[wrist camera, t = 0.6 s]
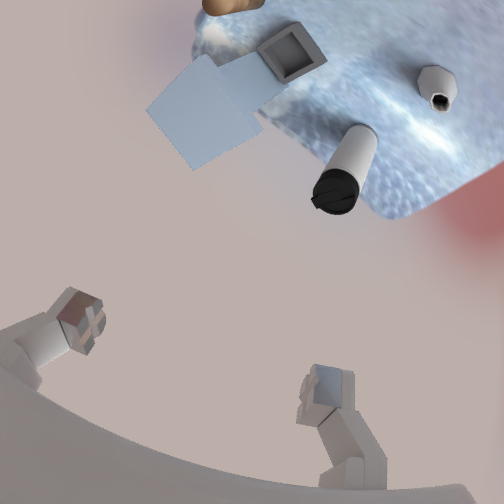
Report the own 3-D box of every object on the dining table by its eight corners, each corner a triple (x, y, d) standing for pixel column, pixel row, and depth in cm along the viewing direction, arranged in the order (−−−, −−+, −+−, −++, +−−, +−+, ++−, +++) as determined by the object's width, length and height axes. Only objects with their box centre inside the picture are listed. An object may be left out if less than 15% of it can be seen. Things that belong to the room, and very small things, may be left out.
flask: (455, 110, 38) (460, 132, 32) (415, 100, 41) (413, 120, 36) (460, 70, 33) (467, 85, 27) (417, 60, 36) (416, 72, 30)
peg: (254, -17, 37) (215, -15, 31) (269, 0, 39) (233, 4, 32) (237, -4, 40) (197, 2, 34) (252, 13, 42) (213, 21, 36)
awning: (301, 23, 40) (197, 57, 25) (333, 69, 45) (256, 135, 29) (254, 53, 49) (145, 110, 33) (284, 94, 53) (193, 170, 37)
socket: (300, 22, 40) (292, 23, 38) (327, 60, 44) (322, 64, 42) (264, 44, 46) (255, 48, 45) (290, 80, 50) (283, 85, 48)
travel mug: (339, 129, 53) (301, 187, 42) (369, 119, 48) (341, 175, 37) (354, 157, 56) (322, 221, 45) (383, 148, 51) (361, 213, 40)
